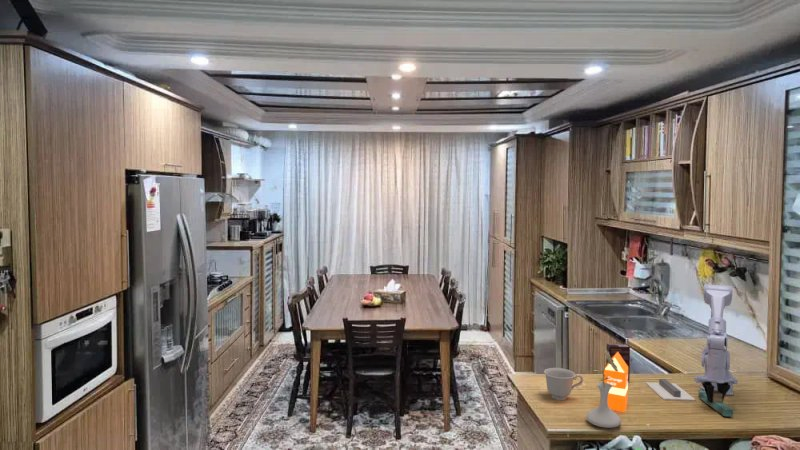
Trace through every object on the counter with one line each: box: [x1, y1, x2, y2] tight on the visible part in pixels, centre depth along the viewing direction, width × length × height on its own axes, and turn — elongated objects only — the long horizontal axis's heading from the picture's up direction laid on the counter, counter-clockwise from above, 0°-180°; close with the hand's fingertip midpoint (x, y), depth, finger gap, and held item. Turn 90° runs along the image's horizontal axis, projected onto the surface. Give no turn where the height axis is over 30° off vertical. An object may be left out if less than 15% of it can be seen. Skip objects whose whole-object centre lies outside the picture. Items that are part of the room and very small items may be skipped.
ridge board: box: [645, 378, 697, 402], centre depth 206 cm, size 12×18×3 cm, turn 175°
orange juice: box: [603, 352, 629, 413], centre depth 191 cm, size 8×9×20 cm
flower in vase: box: [585, 350, 622, 429], centre depth 175 cm, size 13×11×25 cm
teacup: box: [543, 367, 584, 401], centre depth 198 cm, size 12×15×10 cm
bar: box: [697, 390, 734, 417], centre depth 190 cm, size 18×3×6 cm, turn 176°
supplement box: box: [605, 343, 631, 384], centre depth 218 cm, size 9×5×16 cm, turn 84°
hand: (714, 401), depth 190 cm, fingers closed on bar, 3 cm apart
